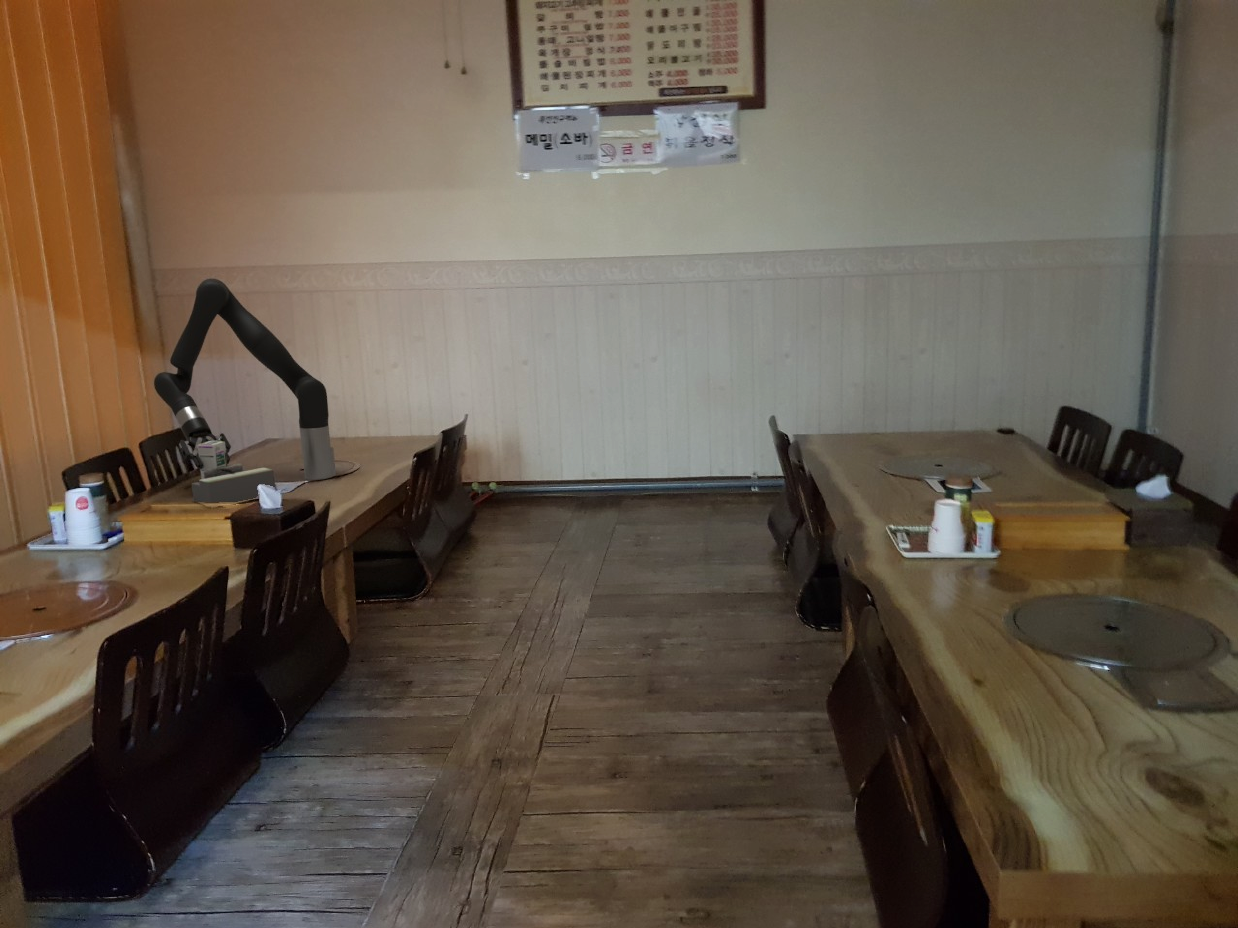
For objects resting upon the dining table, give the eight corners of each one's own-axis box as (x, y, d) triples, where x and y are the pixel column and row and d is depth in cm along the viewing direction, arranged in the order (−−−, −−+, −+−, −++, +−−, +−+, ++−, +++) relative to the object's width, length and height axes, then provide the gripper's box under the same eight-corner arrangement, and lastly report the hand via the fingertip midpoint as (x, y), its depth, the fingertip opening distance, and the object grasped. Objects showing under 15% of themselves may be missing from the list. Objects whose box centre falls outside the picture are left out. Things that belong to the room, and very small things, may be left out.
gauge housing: (255, 490, 307) (252, 465, 306) (276, 495, 299) (273, 469, 297) (192, 503, 293) (188, 477, 291) (211, 509, 285) (208, 482, 283)
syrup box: (218, 491, 300) (214, 444, 297) (201, 490, 301) (197, 443, 298) (229, 487, 305) (225, 440, 302) (212, 486, 307) (208, 440, 304)
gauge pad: (242, 489, 304) (239, 463, 303) (255, 493, 299) (252, 466, 297) (204, 497, 296) (201, 470, 294) (217, 501, 290) (213, 473, 289)
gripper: (172, 420, 299) (194, 461, 294) (218, 413, 309) (240, 453, 304) (167, 435, 304) (188, 477, 298) (212, 428, 314) (234, 468, 309)
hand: (214, 465), depth 301 cm, fingers closed on syrup box, 8 cm apart
